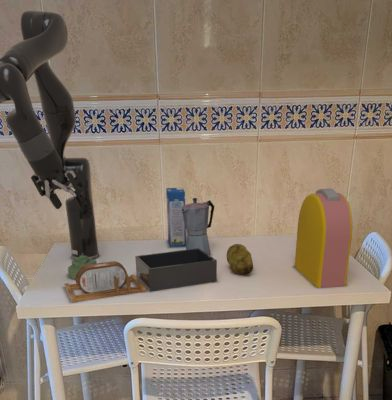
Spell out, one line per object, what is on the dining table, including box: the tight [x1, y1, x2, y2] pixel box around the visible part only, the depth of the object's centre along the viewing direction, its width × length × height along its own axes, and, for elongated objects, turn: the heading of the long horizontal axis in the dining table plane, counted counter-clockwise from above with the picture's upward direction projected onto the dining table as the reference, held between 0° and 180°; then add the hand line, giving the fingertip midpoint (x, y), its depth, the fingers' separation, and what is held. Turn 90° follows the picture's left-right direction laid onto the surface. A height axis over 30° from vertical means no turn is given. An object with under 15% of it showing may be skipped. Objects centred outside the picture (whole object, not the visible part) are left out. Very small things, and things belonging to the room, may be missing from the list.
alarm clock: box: [294, 188, 354, 289], centre depth 151 cm, size 21×9×26 cm, turn 9°
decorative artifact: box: [67, 253, 98, 280], centre depth 159 cm, size 10×7×10 cm
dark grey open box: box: [134, 248, 218, 292], centre depth 154 cm, size 14×21×7 cm
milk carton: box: [165, 187, 187, 248], centre depth 188 cm, size 10×6×20 cm, turn 6°
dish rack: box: [63, 273, 147, 303], centre depth 147 cm, size 13×22×5 cm, turn 112°
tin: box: [74, 260, 128, 294], centre depth 145 cm, size 15×3×8 cm, turn 116°
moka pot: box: [181, 197, 215, 256], centre depth 175 cm, size 10×15×20 cm, turn 137°
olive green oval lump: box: [226, 243, 254, 276], centre depth 160 cm, size 8×13×8 cm, turn 178°
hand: (71, 206), depth 135 cm, fingers open, 8 cm apart
